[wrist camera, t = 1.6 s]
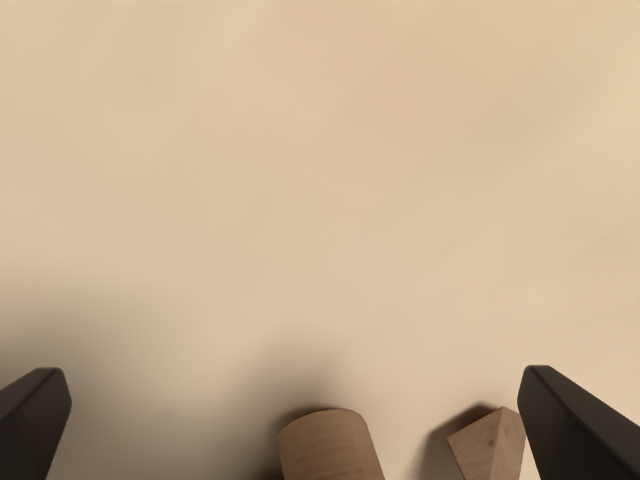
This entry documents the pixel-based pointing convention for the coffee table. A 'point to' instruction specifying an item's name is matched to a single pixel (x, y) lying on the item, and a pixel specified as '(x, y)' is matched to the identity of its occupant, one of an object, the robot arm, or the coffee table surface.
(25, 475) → the robot arm
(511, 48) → the coffee table surface
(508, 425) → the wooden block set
